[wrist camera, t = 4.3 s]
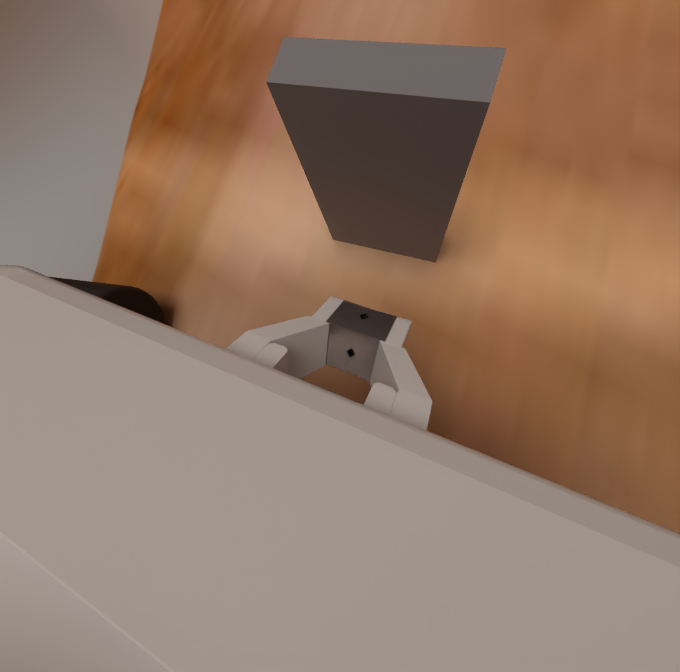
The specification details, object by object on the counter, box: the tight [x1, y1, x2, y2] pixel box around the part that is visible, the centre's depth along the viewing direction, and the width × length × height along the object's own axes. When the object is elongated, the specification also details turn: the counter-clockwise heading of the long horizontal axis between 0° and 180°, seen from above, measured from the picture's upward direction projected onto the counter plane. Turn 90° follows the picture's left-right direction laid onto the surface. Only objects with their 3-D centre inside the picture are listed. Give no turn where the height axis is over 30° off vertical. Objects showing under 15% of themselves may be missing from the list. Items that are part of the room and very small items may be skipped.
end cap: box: [50, 277, 164, 324], centre depth 21 cm, size 10×7×7 cm
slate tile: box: [266, 37, 506, 262], centre depth 16 cm, size 2×8×12 cm, turn 71°
